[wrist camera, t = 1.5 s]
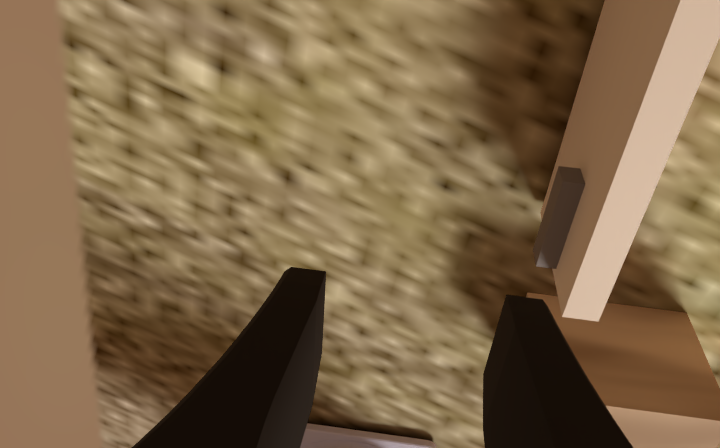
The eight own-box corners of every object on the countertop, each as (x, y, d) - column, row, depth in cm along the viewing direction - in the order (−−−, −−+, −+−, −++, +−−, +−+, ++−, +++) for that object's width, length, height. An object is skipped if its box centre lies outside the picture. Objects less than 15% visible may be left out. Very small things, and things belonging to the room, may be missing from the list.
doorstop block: (653, 371, 26) (691, 483, 22) (507, 352, 26) (518, 459, 22) (686, 311, 24) (734, 422, 20) (527, 291, 24) (543, 397, 20)
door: (629, -168, 15) (696, -141, 11) (697, -162, 15) (791, -132, 11) (523, 210, 21) (540, 313, 17) (570, 216, 21) (598, 321, 17)
